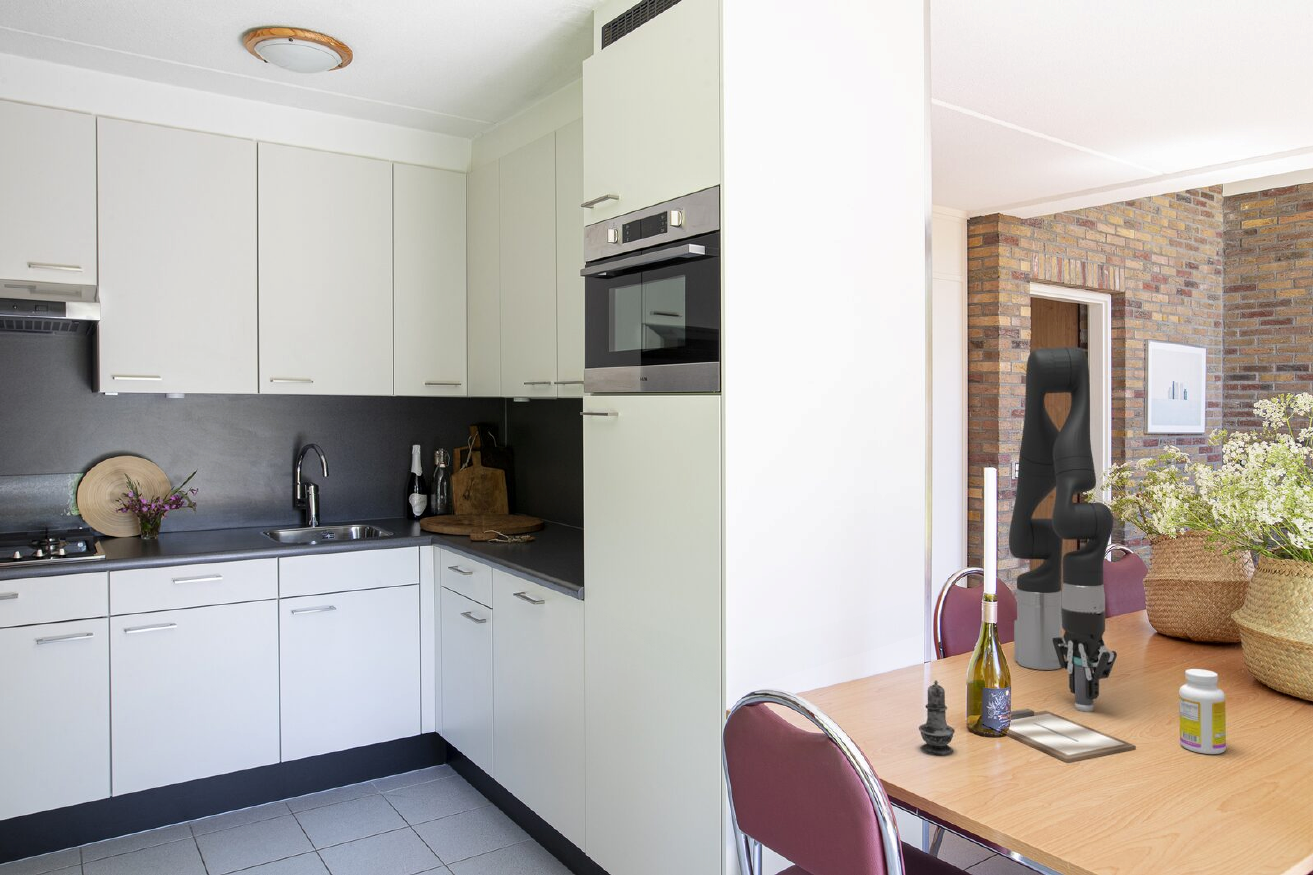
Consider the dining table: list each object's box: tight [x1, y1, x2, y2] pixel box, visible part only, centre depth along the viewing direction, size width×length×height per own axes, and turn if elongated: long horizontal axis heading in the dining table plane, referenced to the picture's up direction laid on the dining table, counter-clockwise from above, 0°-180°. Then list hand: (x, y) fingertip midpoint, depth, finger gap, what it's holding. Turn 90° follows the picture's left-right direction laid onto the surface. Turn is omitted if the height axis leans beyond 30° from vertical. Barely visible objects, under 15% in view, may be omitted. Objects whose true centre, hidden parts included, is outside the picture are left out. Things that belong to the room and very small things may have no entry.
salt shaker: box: [918, 679, 956, 757], centre depth 152 cm, size 6×6×12 cm
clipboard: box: [1006, 708, 1137, 764], centre depth 157 cm, size 20×15×2 cm
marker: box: [1074, 656, 1094, 713], centre depth 171 cm, size 3×3×10 cm
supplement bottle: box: [1178, 668, 1227, 755], centre depth 150 cm, size 7×7×13 cm
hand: (1084, 695), depth 171 cm, fingers closed on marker, 3 cm apart
